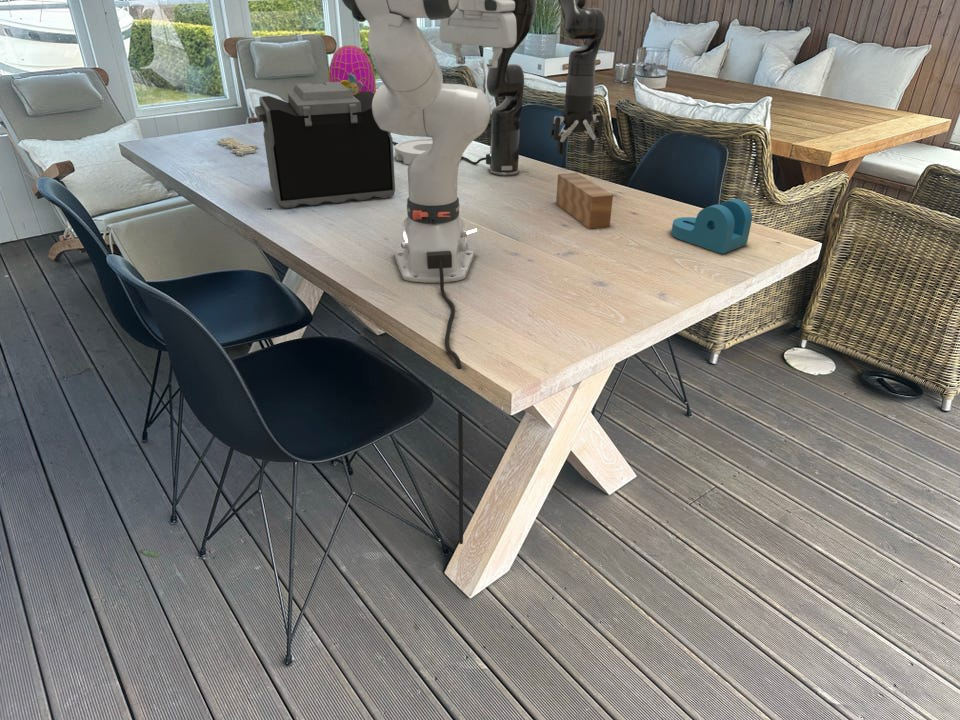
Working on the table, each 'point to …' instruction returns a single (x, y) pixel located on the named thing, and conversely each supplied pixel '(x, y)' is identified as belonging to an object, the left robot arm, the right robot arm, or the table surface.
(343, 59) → the decorative egg
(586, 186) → the box
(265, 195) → the table surface
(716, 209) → the camera mount
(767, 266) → the table surface
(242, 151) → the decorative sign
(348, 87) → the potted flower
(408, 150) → the ashtray
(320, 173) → the electronic device
